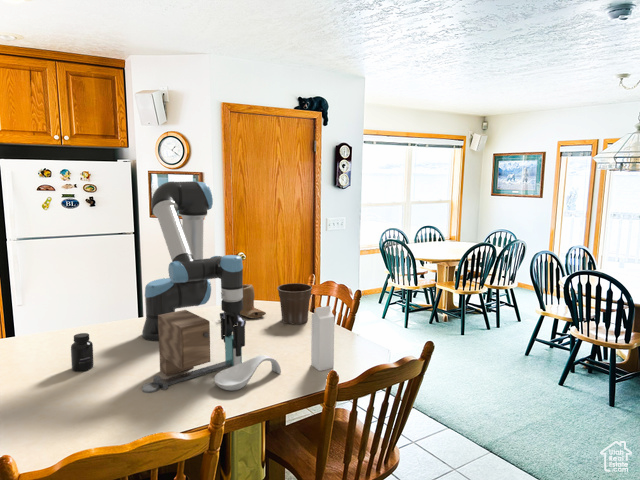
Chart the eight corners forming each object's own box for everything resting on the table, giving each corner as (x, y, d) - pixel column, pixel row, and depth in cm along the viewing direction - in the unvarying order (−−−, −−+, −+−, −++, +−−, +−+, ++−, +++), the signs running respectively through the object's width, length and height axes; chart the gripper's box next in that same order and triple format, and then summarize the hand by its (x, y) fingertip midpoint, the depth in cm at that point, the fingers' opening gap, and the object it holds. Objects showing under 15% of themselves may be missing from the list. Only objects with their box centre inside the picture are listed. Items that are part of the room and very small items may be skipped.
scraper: (153, 382, 150) (153, 353, 149) (233, 359, 170) (232, 332, 169) (163, 389, 145) (162, 359, 144) (243, 364, 165) (243, 338, 164)
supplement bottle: (84, 373, 157) (82, 339, 155) (67, 371, 158) (65, 337, 157) (98, 365, 164) (96, 332, 162) (81, 363, 165) (79, 331, 163)
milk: (333, 368, 164) (335, 307, 161) (318, 371, 161) (320, 310, 158) (325, 361, 169) (326, 303, 166) (310, 364, 166) (311, 305, 163)
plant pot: (291, 328, 205) (291, 293, 203) (270, 320, 217) (270, 286, 215) (318, 321, 216) (319, 287, 214) (297, 313, 228) (297, 281, 226)
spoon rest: (226, 399, 140) (226, 377, 139) (207, 386, 149) (206, 365, 148) (287, 377, 156) (287, 357, 155) (266, 366, 165) (266, 347, 164)
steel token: (139, 389, 146) (139, 385, 146) (155, 384, 149) (155, 380, 149) (146, 394, 142) (145, 390, 142) (161, 389, 146) (161, 386, 146)
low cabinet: (160, 371, 159) (157, 315, 156) (186, 363, 166) (185, 309, 163) (185, 389, 146) (183, 328, 143) (213, 380, 152) (212, 322, 150)
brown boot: (229, 313, 226) (229, 284, 224) (251, 309, 233) (250, 280, 231) (244, 321, 214) (244, 290, 212) (266, 317, 221) (266, 286, 219)
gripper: (210, 296, 167) (211, 357, 170) (236, 306, 154) (237, 372, 157) (227, 292, 172) (228, 352, 175) (255, 302, 159) (255, 366, 162)
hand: (233, 361), depth 166 cm, fingers closed on scraper, 4 cm apart
